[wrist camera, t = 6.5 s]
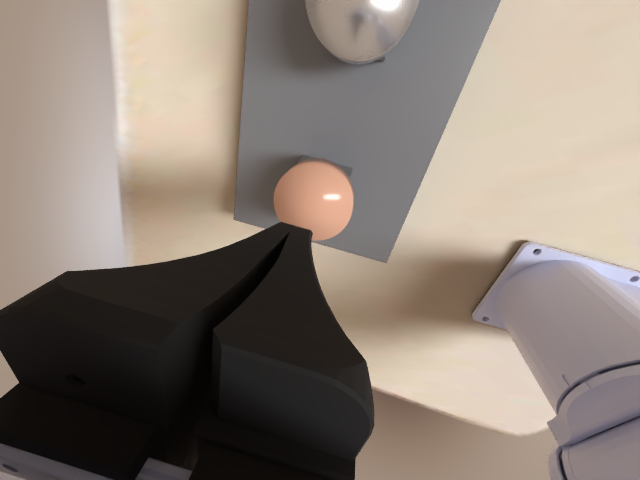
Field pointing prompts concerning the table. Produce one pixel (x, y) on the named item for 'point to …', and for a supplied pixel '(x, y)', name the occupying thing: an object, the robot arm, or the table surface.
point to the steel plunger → (360, 26)
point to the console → (351, 112)
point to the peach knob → (315, 197)
